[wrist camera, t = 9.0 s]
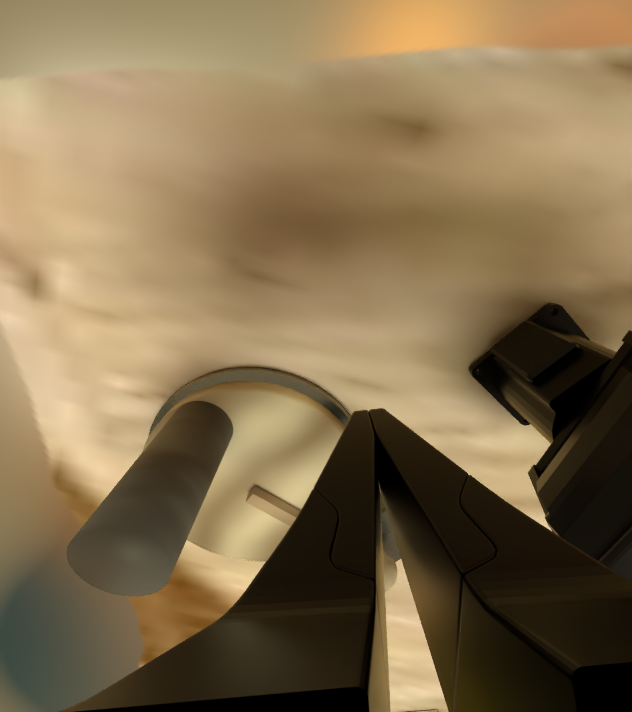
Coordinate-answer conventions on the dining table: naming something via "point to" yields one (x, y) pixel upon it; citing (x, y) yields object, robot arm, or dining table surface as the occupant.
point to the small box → (427, 711)
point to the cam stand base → (289, 382)
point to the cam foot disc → (210, 486)
